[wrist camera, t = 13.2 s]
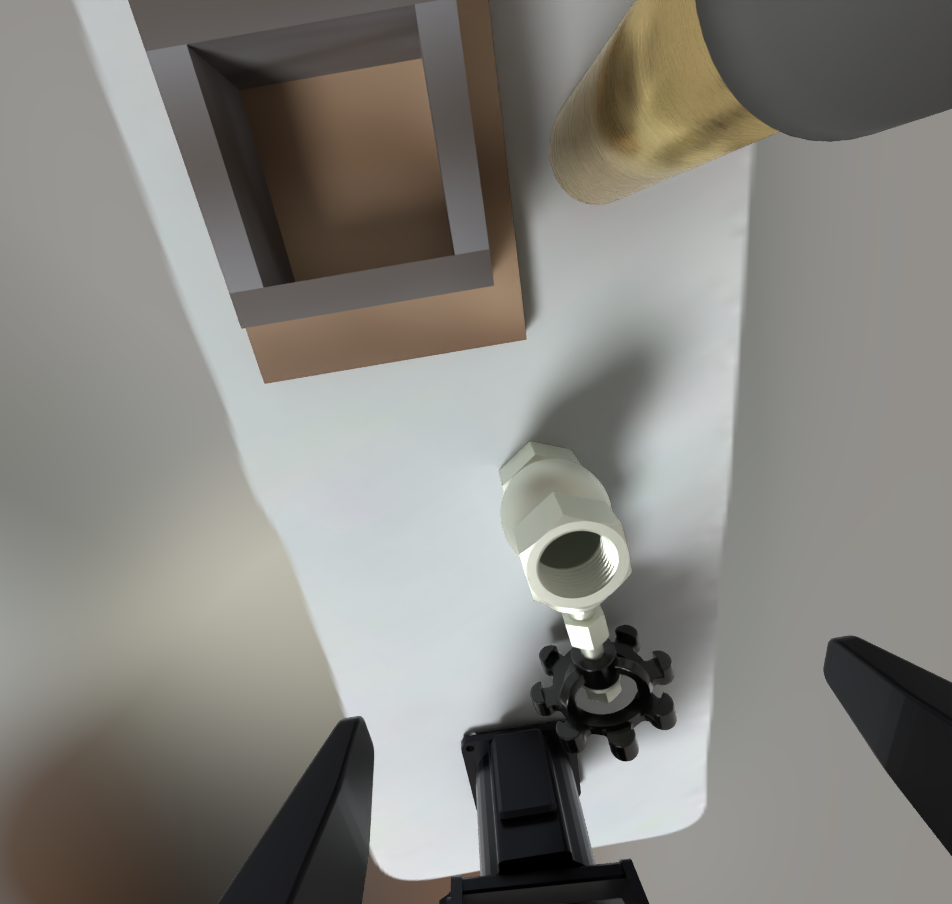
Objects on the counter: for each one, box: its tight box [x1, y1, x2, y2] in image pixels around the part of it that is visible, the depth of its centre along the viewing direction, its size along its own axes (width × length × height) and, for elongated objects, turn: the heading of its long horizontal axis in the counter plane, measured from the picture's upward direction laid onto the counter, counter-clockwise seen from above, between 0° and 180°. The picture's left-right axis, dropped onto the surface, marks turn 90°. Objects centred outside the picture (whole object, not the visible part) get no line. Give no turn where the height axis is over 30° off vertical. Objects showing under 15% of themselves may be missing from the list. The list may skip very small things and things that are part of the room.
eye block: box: [128, 0, 526, 384], centre depth 14 cm, size 12×10×4 cm
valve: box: [499, 441, 676, 761], centre depth 19 cm, size 7×7×12 cm
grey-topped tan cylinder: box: [550, 0, 952, 205], centre depth 10 cm, size 5×5×12 cm
